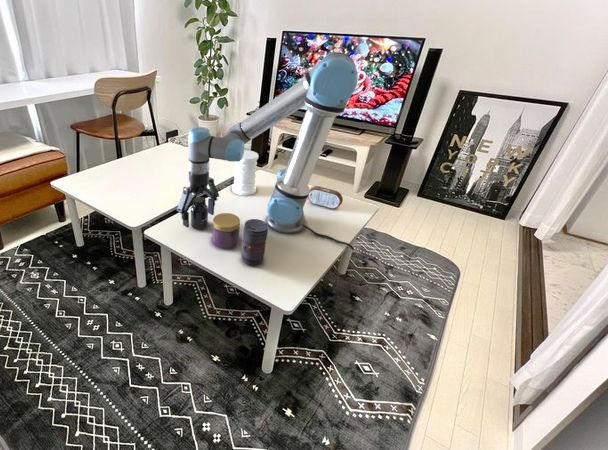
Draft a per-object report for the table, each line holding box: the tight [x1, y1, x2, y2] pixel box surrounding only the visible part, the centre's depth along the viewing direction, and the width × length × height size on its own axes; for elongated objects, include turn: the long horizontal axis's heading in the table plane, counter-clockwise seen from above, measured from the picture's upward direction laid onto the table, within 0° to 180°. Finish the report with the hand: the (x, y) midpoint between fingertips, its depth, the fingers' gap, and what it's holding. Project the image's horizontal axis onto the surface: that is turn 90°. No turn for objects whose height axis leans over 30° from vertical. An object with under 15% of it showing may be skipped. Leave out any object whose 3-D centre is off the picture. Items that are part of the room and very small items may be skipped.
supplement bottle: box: [190, 196, 209, 231], centre depth 135 cm, size 7×7×12 cm
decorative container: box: [231, 149, 260, 196], centre depth 160 cm, size 12×12×18 cm
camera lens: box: [241, 218, 269, 267], centre depth 116 cm, size 8×8×15 cm
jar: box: [212, 225, 241, 250], centre depth 127 cm, size 10×10×9 cm
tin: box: [307, 185, 344, 210], centre depth 150 cm, size 15×3×8 cm, turn 58°
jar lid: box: [212, 212, 241, 232], centre depth 125 cm, size 10×10×2 cm
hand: (198, 219), depth 137 cm, fingers open, 13 cm apart
